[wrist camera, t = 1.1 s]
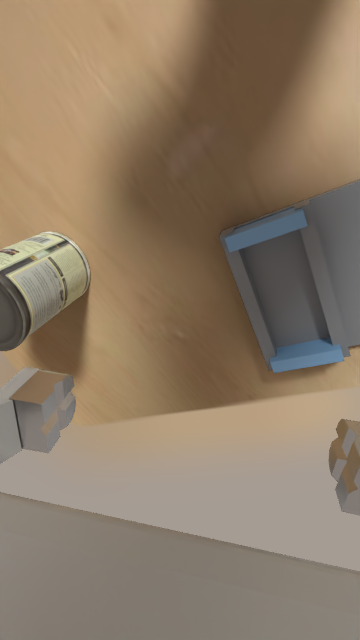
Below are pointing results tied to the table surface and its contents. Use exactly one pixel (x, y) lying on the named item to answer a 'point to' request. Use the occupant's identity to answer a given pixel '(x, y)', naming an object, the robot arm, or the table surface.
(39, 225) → the table surface
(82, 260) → the coffee can
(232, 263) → the board
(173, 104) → the table surface
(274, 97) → the table surface
